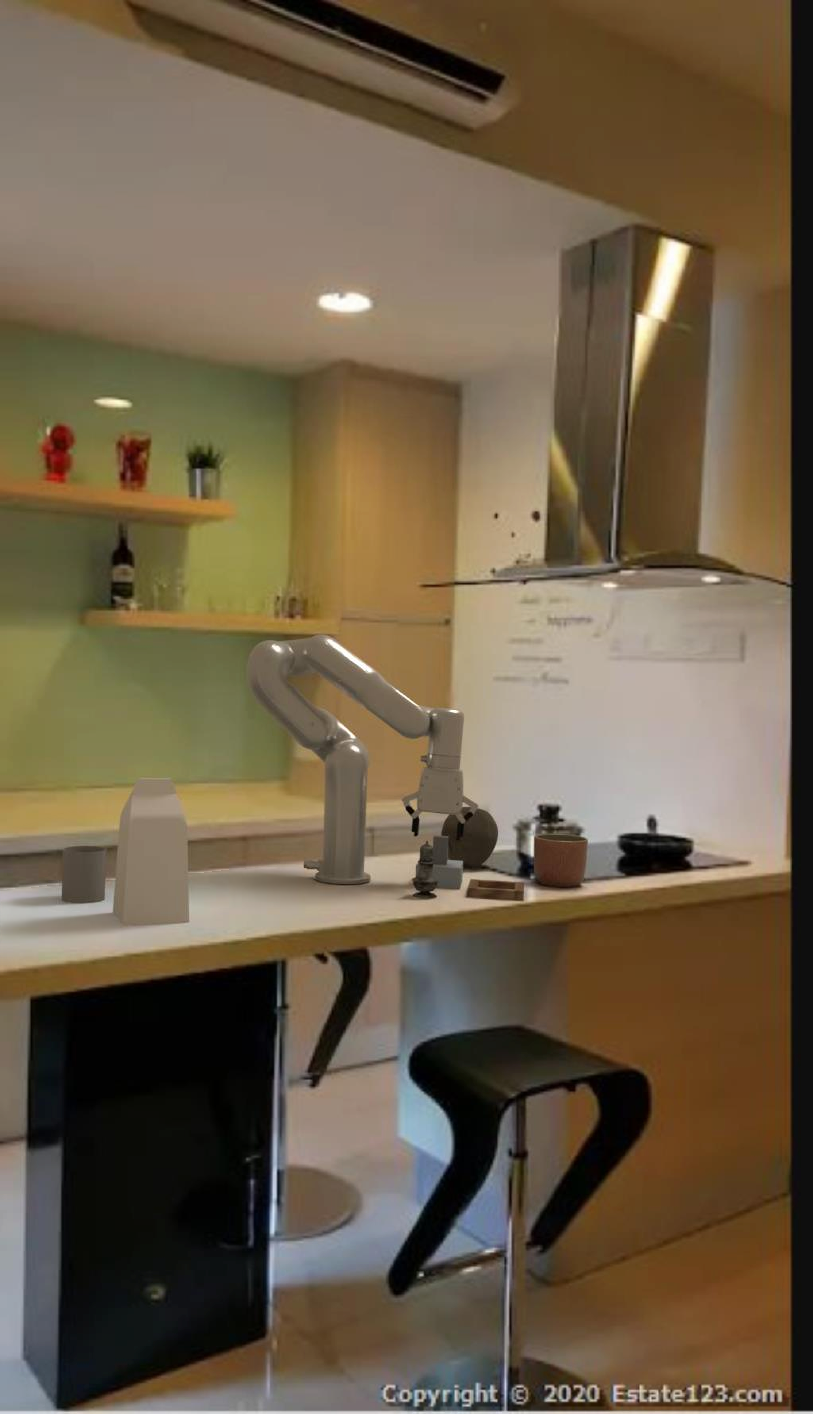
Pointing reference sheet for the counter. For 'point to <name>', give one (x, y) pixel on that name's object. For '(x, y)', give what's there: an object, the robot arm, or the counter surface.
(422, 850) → the salt shaker
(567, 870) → the planter
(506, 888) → the socket board
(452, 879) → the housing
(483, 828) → the dark brown ball
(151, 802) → the milk
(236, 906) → the counter surface
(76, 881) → the cup
